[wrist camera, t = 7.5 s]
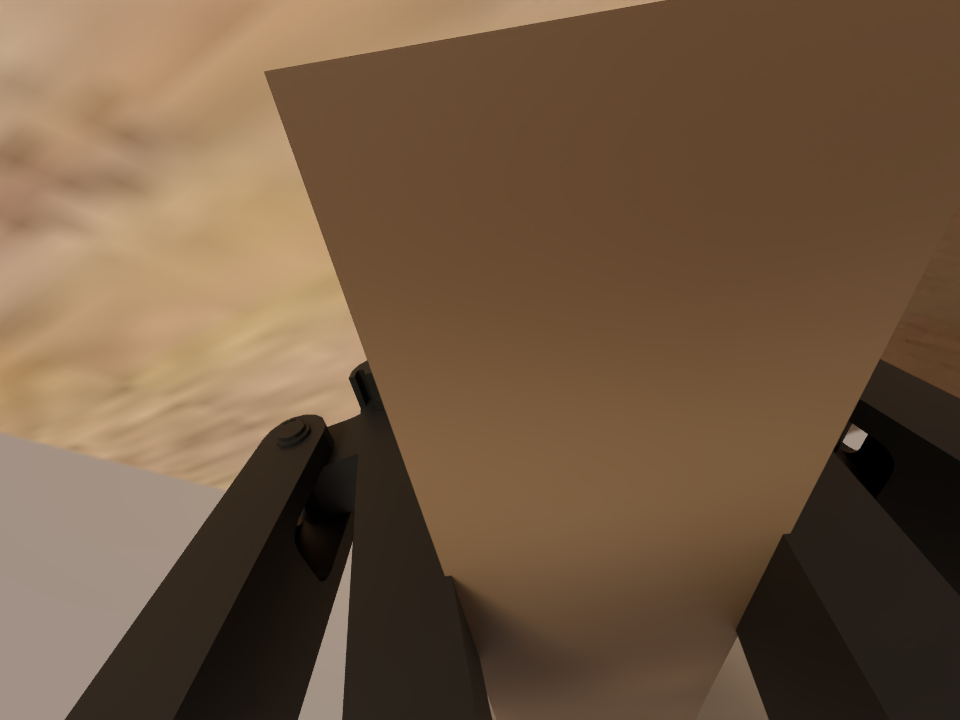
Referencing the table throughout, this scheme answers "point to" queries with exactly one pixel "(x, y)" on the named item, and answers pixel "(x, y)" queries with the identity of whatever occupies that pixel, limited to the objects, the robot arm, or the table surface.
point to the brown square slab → (628, 303)
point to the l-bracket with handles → (729, 692)
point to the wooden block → (933, 319)
